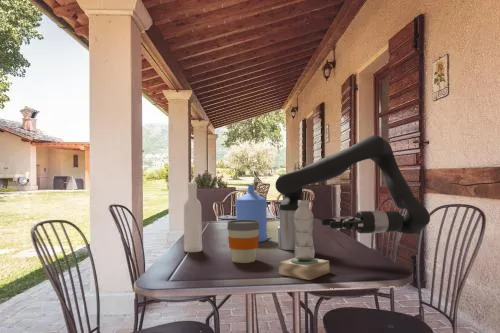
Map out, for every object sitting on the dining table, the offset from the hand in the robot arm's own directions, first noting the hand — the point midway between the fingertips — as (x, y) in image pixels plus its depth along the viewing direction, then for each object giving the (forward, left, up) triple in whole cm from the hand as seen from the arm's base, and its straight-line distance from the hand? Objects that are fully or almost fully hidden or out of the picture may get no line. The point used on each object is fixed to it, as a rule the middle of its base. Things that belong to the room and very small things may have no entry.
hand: (326, 223), depth 136 cm
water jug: (-64, +35, -17) cm, 75 cm away
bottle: (-66, -2, -17) cm, 68 cm away
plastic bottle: (-5, -6, -12) cm, 14 cm away
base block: (-5, -6, -16) cm, 18 cm away
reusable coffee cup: (-35, -3, -17) cm, 39 cm away
